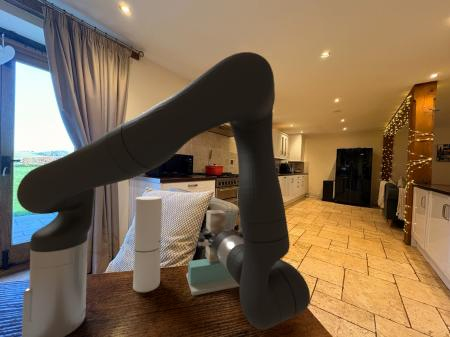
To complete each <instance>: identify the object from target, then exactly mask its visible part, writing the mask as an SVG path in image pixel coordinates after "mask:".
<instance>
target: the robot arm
mask: <svg viewBox="0 0 450 337" xmlns="http://www.w3.org/2000/svg"><path fill="white" fill-rule="evenodd" d="M274 76H275V75H274V71H273V68H272V66H271V64H270V63H269V61H268V60H267V59H266V58H265V57H264V56H262V55H260V54H258V53H257V52H252V51H243V52H236V53H234V54H232V55H231V54H230V55H229V56H227V57H225V58H223V59H222V60H220V61H218V62H217V63H215V65H213V66H211V67H210V68H208V69H207V70H206V71H204V72H203V73H202V74H200V75H199V76H198V77H197V78H195V79H194V80H193V81H191V82H190V83H189V84H187V85H186V86H184V87H183V88H182V89H180V90H179V91H177V92H176V93H174V94H172V95H171V96H169V97H167V98H165V99H164V100H162V101H161V102H159V103H157V104H155V105H153V106H151V107H150V108H149V109H147V110H145V111H144V112H142V113H140V114H139V115H136V116H134V117H132V118H130V119H129V120H126V121H125V122H123V123H121V124H120V125H118V126H116V127H114V128H113V129H111V130H109V131H108V132H106V133H105V134H103V135H101V136H100V137H98V138H96V139H94V140H93V141H90V142H89V143H87V144H85V145H83V146H81V147H79V148H78V149H76V150H74V151H73V152H70V153H69V154H66V155H65V156H62V157H60V158H57V159H54V160H52V161H50V162H47V163H45V164H42V165H40V166H37V167H35V168H33V169H31V170H30V171H28V172H27V173H26V174H25V175H24V177H23V178H22V179H21V181H20V182H19V184H18V186H17V190H16V198H17V202H18V203H19V205H20V206H21V207H22V208H23V209H24V210H25V211H28V212H29V213H32V214H37V215H47V214H48V215H49V214H54V213H55V214H56V213H57V215H56V216H55V217H54V218H53V219H52V220H51V221H50V222H49V223H48V224H46V225H45V226H42V227H41V228H39V229H37V230H36V231H34V233H32V235H31V236H30V242H29V243H30V247H29V249H30V250H29V251H30V252H29V253H30V255H29V256H30V257H29V283H28V284H29V286H28V287H27V288H26V289H25V290H24V291H23V293H22V319H21V320H22V321H21V323H22V324H21V325H22V326H21V337H66V336H67V335H70V334H71V333H72V332H74V331H76V329H78V328H79V327H80V326H81V325H82V324H83V322H84V321H85V319H86V310H87V304H86V298H87V270H88V269H87V268H88V267H87V266H88V241H89V240H88V237H89V236H88V233H89V231H90V229H91V228H92V224H93V223H92V222H93V212H94V203H95V202H94V201H95V189H96V188H100V187H105V186H109V185H113V184H117V183H120V182H125V181H127V180H131V179H134V178H136V177H138V176H141V175H144V174H146V173H147V172H150V171H151V170H154V169H156V168H158V167H160V166H161V165H163V164H165V163H166V162H168V161H169V160H170V159H172V157H174V156H175V155H176V154H177V153H178V151H180V150H181V149H182V148H183V146H185V145H186V144H187V143H188V142H190V141H191V140H193V139H194V138H196V137H197V136H199V135H201V134H204V133H206V132H208V131H210V130H212V129H215V128H218V127H220V126H223V125H225V124H228V123H229V125H230V128H231V129H230V130H231V132H232V135H233V139H234V142H235V148H236V154H237V163H238V192H237V193H238V213H239V212H240V220H241V227H242V233H241V232H239V230H236V229H227V228H225V231H223V232H221V233H215V232H210V231H209V230H208V229H207V228H206V227H203V229H202V231H200V232H199V233H198V239H197V242H198V243H197V249H203V248H204V247H206V246H209V248H211V249H213V252H214V254H215V256H216V257H217V258H218V260H219V261H220V263H221V264H222V265H223V267H224V268H225V269H226V270H227V271H228V272H229V273H230V274H231V276H232V277H233V278H234V280H235V281H236V282H237V283H238V285H240V286H239V301H240V306H241V307H240V308H241V310H242V314H244V317H245V318H246V320H247V321H248V323H250V325H251V326H253V327H254V328H256V329H258V330H267V329H271V328H273V327H275V326H276V325H279V324H281V323H283V322H286V321H287V320H290V319H292V318H294V317H296V316H298V315H300V314H302V313H303V312H305V311H306V310H307V308H308V307H309V305H310V300H311V294H310V288H309V286H308V285H309V284H308V283H307V281H306V279H305V278H304V276H303V274H301V272H300V271H299V270H298V269H297V268H295V266H293V265H292V264H290V263H289V262H287V261H285V260H282V258H284V257H285V256H287V254H288V253H289V251H290V246H291V245H290V235H289V229H288V221H287V216H286V210H285V204H284V199H283V198H284V197H283V194H282V188H281V182H280V179H279V175H278V170H277V164H276V158H275V152H274V141H273V140H274V139H273V119H274V118H273V115H274V114H273V113H274V111H273V110H274V104H275V99H276V92H275V89H276V88H275V79H274V78H275V77H274Z"/></svg>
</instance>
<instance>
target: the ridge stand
mask: <svg viewBox="0 0 450 337" xmlns="http://www.w3.org/2000/svg"><path fill="white" fill-rule="evenodd" d="M187 264H188V265H187V272H186V274H185V275H186V276H185V277H186V279H187V283H188V285H189V290H190V292H191V295H192V296H198V295H202V294H203V295H204V294H207V293H213V292H218V291H223V290H228V289H234V288H238V287H239V288H240V285H238V283H237V282H236V281H235V280H234V278H233V277H232V276H231V274H230V273H229V272H228V271H227V270H226V269H225V268H224V267H223V265H222V264H221V263H220V261H216V262H209V261H208V259H207V258H202V259H196V260H189V261H188V263H187Z"/></svg>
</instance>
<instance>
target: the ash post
mask: <svg viewBox="0 0 450 337" xmlns="http://www.w3.org/2000/svg"><path fill="white" fill-rule="evenodd" d="M205 221H206V223H205V228H207V229H208V230H209V231H210V232H215V233H221V232H223V231H225V229H226V212H225V211H223V210H221V209H209V210H206V220H205ZM205 257H206V259H208V261H209V262H216V261H219V260H218V258H217V257H216V256H215V254H214V252H213V249H211V248H209V246H205Z"/></svg>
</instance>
